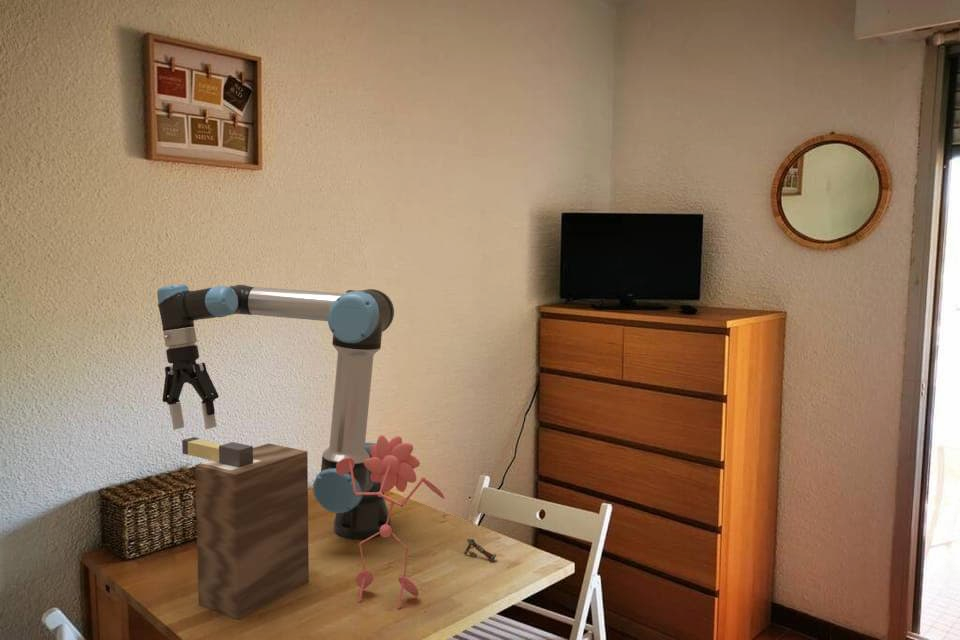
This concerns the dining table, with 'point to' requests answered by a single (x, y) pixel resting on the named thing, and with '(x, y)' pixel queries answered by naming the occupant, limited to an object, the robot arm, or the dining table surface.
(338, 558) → the dining table surface
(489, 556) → the wooden post with brackets
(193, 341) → the robot arm
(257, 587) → the tall wood-grain block
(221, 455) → the marker
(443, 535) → the dining table surface
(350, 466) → the figurine
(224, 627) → the dining table surface
